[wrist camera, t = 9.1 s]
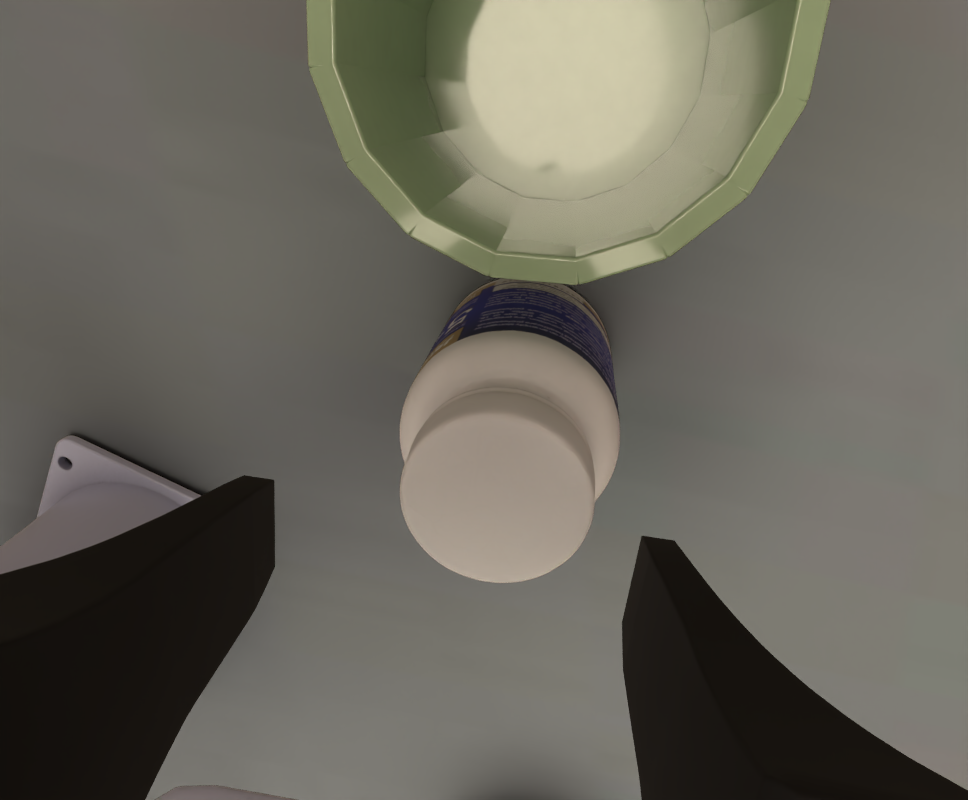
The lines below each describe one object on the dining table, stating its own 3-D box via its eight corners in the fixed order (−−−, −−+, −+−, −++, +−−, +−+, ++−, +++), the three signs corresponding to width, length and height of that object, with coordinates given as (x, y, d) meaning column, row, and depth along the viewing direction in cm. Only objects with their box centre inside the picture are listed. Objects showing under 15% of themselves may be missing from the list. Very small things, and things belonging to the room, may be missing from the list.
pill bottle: (453, 258, 22) (380, 354, 14) (627, 289, 21) (658, 405, 13) (432, 417, 24) (357, 583, 16) (590, 447, 24) (598, 631, 15)
